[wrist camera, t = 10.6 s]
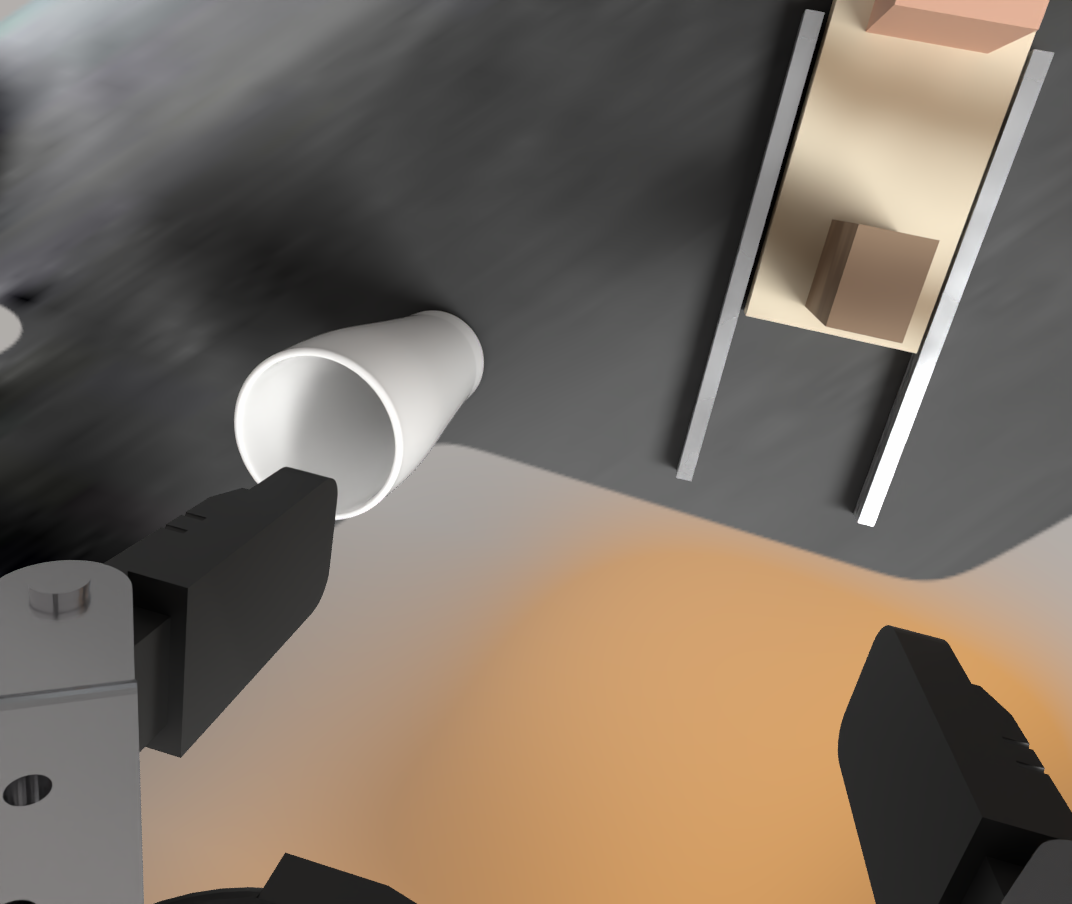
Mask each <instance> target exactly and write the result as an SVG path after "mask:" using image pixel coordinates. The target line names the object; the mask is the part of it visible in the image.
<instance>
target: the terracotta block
mask: <svg viewBox="0 0 1072 904" xmlns="http://www.w3.org/2000/svg"><path fill="white" fill-rule="evenodd" d="M1048 2H1049V0H875V2H874V5H873V9H872V12H871V15H870V18H869V22H868V25H867V28H866V32H868V33H874V34H880V35H885V36H891V37H896V38H902V39H908V40H913V41H919V42H925V43H930V44H936V45H941V46H947V47H953V48H958V49H964V50H970V51H975V52H981V53H986V54H988V53H990V52H993V51H995V50H997V49H999V48H1001V47H1003V46H1005V45H1007V44H1009V43H1011V42H1014V41H1016V40H1018V39H1020V38H1022V37H1024V36H1026V35H1028V34H1030V33H1032V32H1035V31H1037V30H1038V29H1039V27H1040V24H1041V21H1042V19H1043V16H1044V13H1045V11H1046V8H1047V5H1048Z"/></svg>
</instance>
